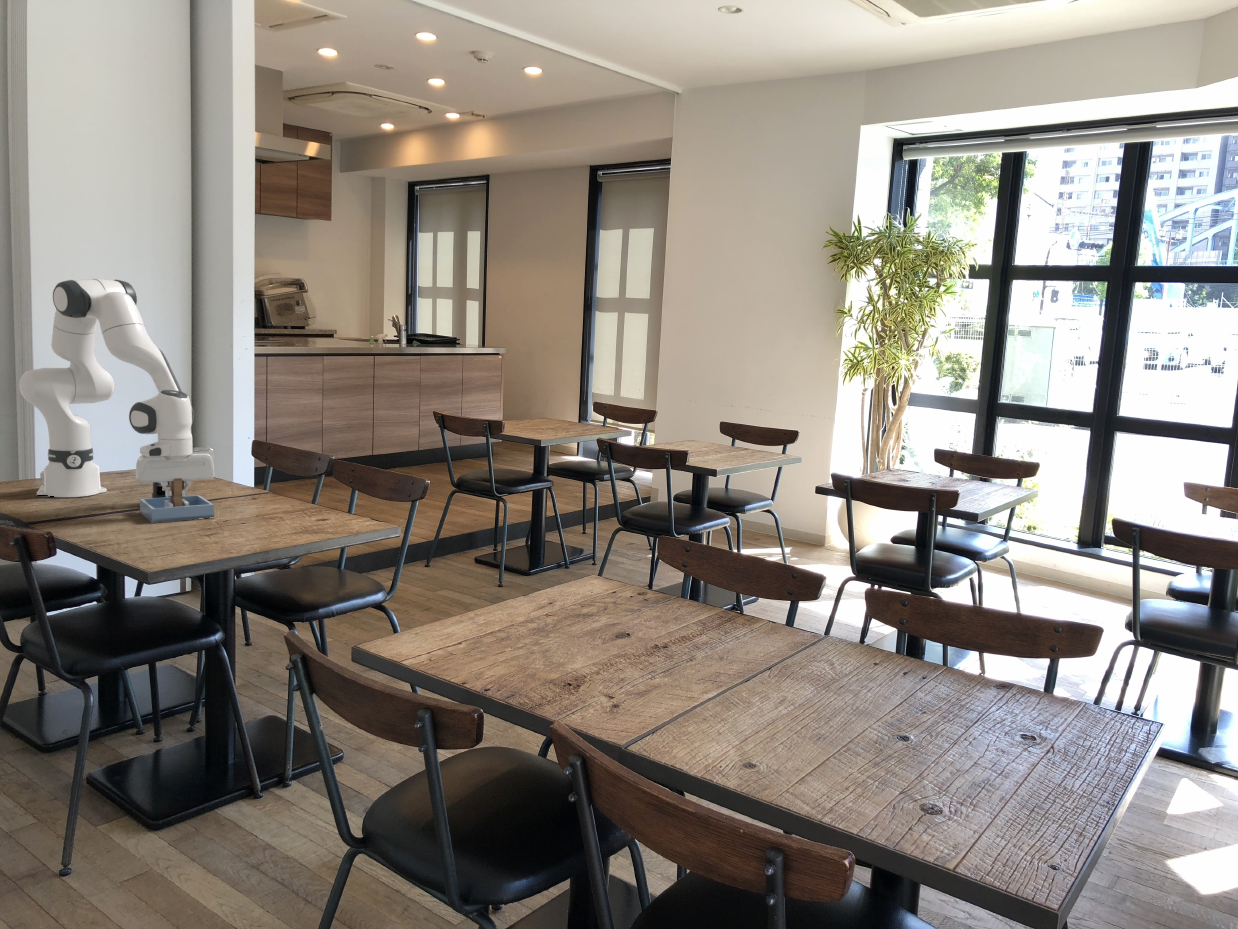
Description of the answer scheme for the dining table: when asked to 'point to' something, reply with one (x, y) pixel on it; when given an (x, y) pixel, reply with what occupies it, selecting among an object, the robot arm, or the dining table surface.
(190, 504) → the shallow blue crate
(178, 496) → the brown wooden block
